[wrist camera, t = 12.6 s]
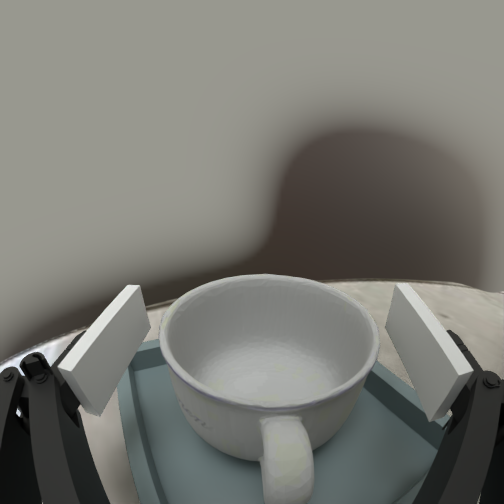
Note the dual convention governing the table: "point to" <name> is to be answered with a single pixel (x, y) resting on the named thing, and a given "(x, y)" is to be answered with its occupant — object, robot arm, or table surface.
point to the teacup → (269, 370)
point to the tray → (249, 472)
